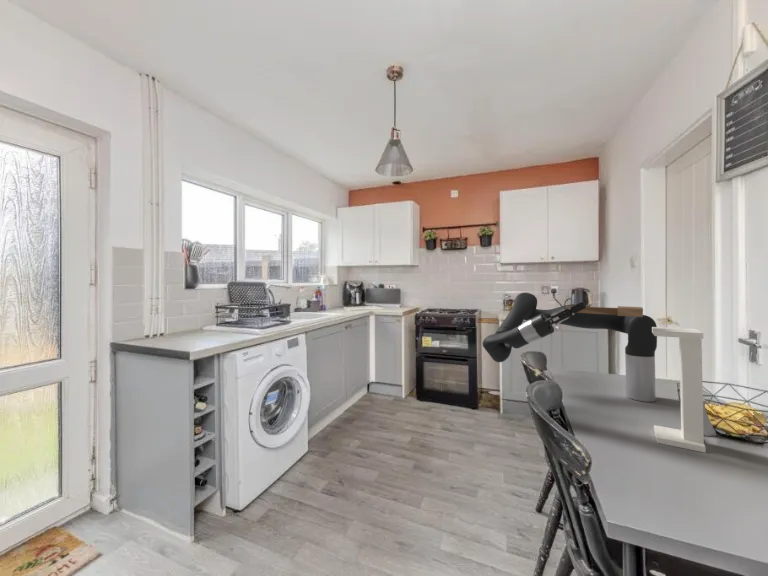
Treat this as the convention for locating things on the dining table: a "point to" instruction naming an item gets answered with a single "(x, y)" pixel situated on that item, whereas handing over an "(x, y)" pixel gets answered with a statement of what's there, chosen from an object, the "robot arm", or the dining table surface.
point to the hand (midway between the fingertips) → (584, 304)
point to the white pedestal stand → (686, 391)
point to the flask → (707, 423)
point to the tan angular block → (613, 311)
